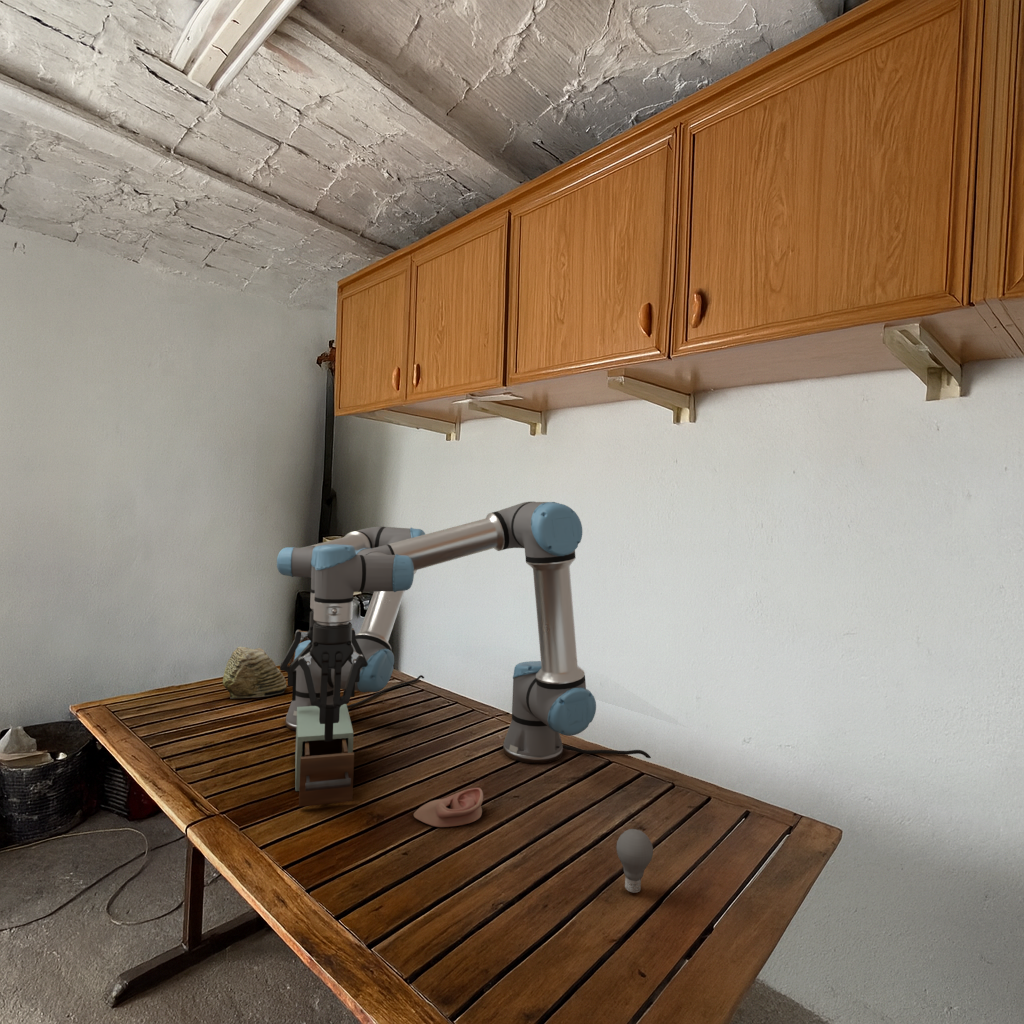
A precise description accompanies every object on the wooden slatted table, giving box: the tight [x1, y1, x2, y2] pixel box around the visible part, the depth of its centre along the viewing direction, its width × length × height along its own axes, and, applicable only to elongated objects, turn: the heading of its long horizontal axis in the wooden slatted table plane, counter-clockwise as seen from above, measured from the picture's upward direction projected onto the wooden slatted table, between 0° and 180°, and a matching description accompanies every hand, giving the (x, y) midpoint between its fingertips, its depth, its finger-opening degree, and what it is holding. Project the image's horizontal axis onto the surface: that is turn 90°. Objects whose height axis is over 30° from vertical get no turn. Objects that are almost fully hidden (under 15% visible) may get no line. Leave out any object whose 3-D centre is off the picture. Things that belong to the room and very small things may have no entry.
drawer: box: [298, 738, 355, 808], centre depth 135 cm, size 24×10×10 cm, turn 19°
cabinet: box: [294, 704, 354, 792], centre depth 147 cm, size 20×12×12 cm, turn 19°
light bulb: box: [615, 828, 654, 894], centre depth 106 cm, size 6×6×10 cm
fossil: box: [222, 646, 288, 699], centre depth 198 cm, size 9×18×15 cm, turn 132°
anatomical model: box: [413, 787, 484, 828], centre depth 129 cm, size 13×4×12 cm
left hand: (323, 697), depth 153 cm, fingers open, 13 cm apart
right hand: (328, 738), depth 127 cm, fingers closed
